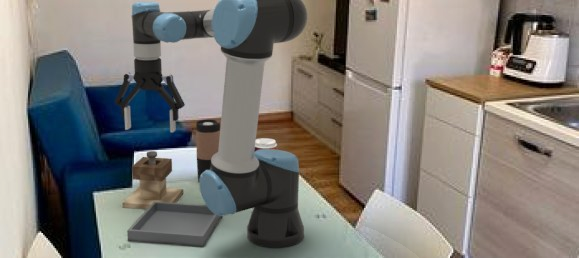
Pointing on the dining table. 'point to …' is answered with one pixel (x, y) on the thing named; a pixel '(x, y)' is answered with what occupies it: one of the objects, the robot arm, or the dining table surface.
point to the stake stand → (151, 191)
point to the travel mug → (206, 143)
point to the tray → (174, 224)
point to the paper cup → (265, 144)
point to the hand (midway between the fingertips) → (150, 130)
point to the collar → (152, 169)
